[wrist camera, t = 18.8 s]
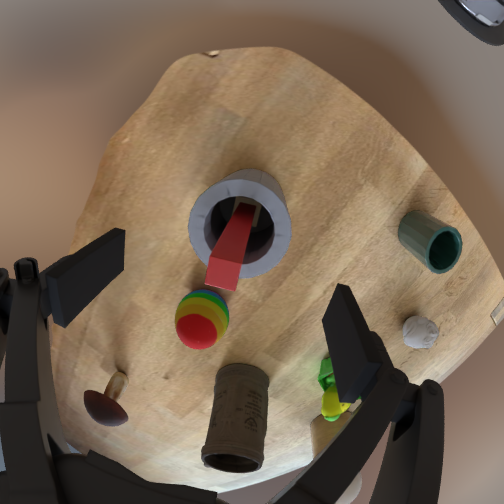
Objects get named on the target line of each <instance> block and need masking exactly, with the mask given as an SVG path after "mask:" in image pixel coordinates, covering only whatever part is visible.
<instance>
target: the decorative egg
mask: <svg viewBox="0 0 504 504" xmlns="http://www.w3.org/2000/svg"><path fill="white" fill-rule="evenodd" d="M228 323H229V311H228V307H227V305H226V303H225V301H224V300H223V298H222V297H221V296H220V295H218V294H217V293H215V292H213V291H210V290H205V289H201V290H196V291H193V292H191V293H189V294H188V295H186V296H185V297H184V298H183V299H182V301H181V302H180V304H179V305H178V308H177V310H176V314H175V328H176V332H177V334H178V336H179V338H180V340H181V341H182V342H183V343H184V344H185V345H186V346H188V347H190V348H193V349H205V348H208V347H211V346H212V345H214V344H215V343H217V342H218V341H219V340H220V339H221V338H222V336H223V335H224V333H225V331H226V329H227V327H228Z"/></svg>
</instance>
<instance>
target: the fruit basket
mask: <svg viewBox="0 0 504 504" xmlns="http://www.w3.org/2000/svg"><path fill="white" fill-rule="evenodd" d="M318 381H319V383H320V385H321V387H322V388H323V390H324V392H325V393H324V394H323V396H322V408H321V413H322V415H323V416H324V417H325V419H327V420H328V421H335V420H337V419H338V418H339V416H340V414H341V413H343V412H344V411H346V410H347V409H348V408H349V407H350V405H351V403H339V398H338V393H337V388H336V383H335V378H334V373H333V368H332V363H331V359H330V357H329V358H328V359H324V360H322V363H321V368H320V374H319V376H318ZM360 398H361V397H360V396H359V397H358V399H360ZM358 399H357V400H358Z"/></svg>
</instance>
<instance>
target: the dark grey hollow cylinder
mask: <svg viewBox="0 0 504 504" xmlns="http://www.w3.org/2000/svg"><path fill="white" fill-rule="evenodd" d="M215 382H216V384H215V386H214V402H213V407H212V413H211V418H210V423H209V428H208V433H207V438H206V442H205V445H204V446H203V447H202V450H201V459H202V461H203V462H204V466H205V467H211V468H214V469H216V470H220V471H224V472H231V473H248V472H254V471H257V470H259V469H260V468H261V467H262V463H263V461H264V454H263V451H264V438H265V436H266V431H267V414H268V391H267V390H268V387H269V379H268V377H267V375H266V374H265V373H264V372H263V371H262V370H260V369H258V368H256V367H253V366H250V365H245V364H232V365H229V366H226V367H224V368H222V369H221V370H220V371H218V373H217V375H216V380H215Z"/></svg>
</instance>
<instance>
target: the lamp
mask: <svg viewBox="0 0 504 504" xmlns="http://www.w3.org/2000/svg"><path fill="white" fill-rule="evenodd" d="M351 414H352V413H350V412H348V411H344V412H343V413H341V414H340V416H339V418H338V419H337V420H335V421H328V420H327V419H325V417H324V416H323V415H320V416H318V417H317V418H315V419H314V420H313V421H312V423H311V426H310V427H311V439H312V451H313V459H314V458H315V457H316V456H317V455H318V454H319V453H320V452H321V451H322V450H323V449H324V448H325V446H326V445H327V444H328V443H329V442H330V441H331V440H332V438H333V437H334V436H335V435H336V434H337V433H338V431H339V430H340V429H341V428H342V427H343V425H344V424H345V423H346V422H347V420H348V419H349V418H350V417H351ZM361 485H362V477H361V473H360V472H359V473H358V474H357V476H356V477H355V479H354V480H353V481H352V483H351V484H350V485H349V487H348V488H347V489H346V490H345V492H344V493H343V494H342V496H341V497H340V498H339V499H338V500H337V502H336V503H335V504H350V503H351V502H352V501H353V500H354V499H355V498H356V497H357V495H358V493H359V491H360V489H361Z"/></svg>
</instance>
